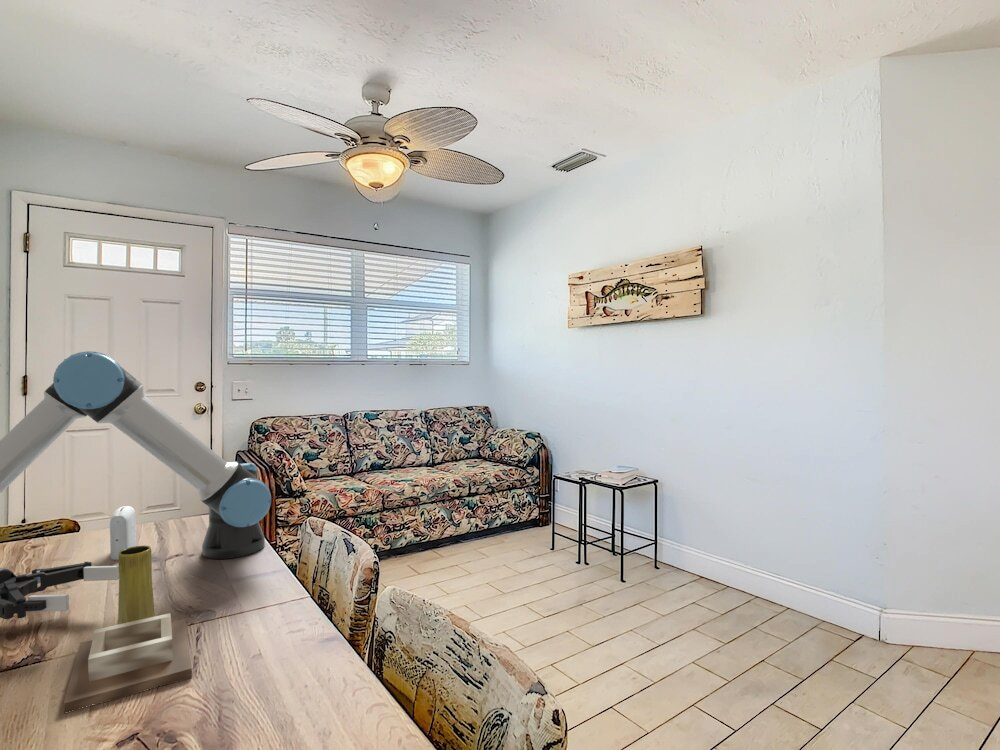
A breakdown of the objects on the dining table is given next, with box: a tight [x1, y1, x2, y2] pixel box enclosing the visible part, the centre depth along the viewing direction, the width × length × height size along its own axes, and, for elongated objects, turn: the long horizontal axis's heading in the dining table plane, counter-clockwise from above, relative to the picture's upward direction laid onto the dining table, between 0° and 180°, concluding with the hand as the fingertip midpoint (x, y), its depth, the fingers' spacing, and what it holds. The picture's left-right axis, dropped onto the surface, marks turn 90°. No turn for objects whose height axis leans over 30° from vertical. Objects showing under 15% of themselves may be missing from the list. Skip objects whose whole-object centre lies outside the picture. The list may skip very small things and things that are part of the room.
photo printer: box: [109, 505, 137, 561], centre depth 142 cm, size 10×4×12 cm, turn 22°
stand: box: [63, 612, 193, 714], centre depth 90 cm, size 16×20×5 cm
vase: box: [116, 545, 156, 625], centre depth 104 cm, size 6×6×14 cm
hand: (94, 586), depth 104 cm, fingers open, 13 cm apart
